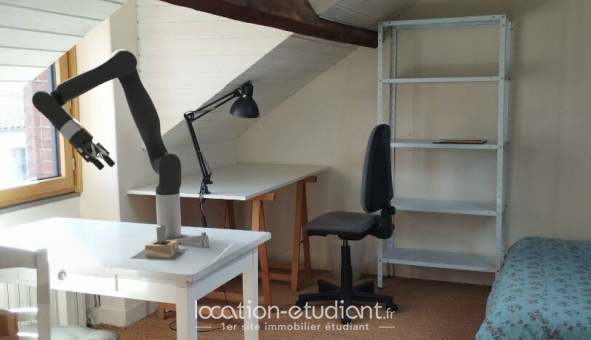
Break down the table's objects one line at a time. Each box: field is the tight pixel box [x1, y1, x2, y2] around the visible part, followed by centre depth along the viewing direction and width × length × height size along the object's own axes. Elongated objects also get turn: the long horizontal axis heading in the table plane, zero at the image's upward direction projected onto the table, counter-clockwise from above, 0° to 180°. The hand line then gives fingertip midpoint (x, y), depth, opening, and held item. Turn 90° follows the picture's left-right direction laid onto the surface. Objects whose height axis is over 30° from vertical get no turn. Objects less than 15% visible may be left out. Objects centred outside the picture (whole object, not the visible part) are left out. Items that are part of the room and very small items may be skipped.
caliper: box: [175, 231, 210, 248], centre depth 242 cm, size 20×1×6 cm, turn 63°
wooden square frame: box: [144, 239, 180, 258], centre depth 229 cm, size 9×9×4 cm
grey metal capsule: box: [155, 225, 167, 245], centre depth 228 cm, size 3×3×10 cm
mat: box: [129, 248, 189, 261], centre depth 230 cm, size 15×16×1 cm
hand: (108, 166), depth 232 cm, fingers open, 8 cm apart
